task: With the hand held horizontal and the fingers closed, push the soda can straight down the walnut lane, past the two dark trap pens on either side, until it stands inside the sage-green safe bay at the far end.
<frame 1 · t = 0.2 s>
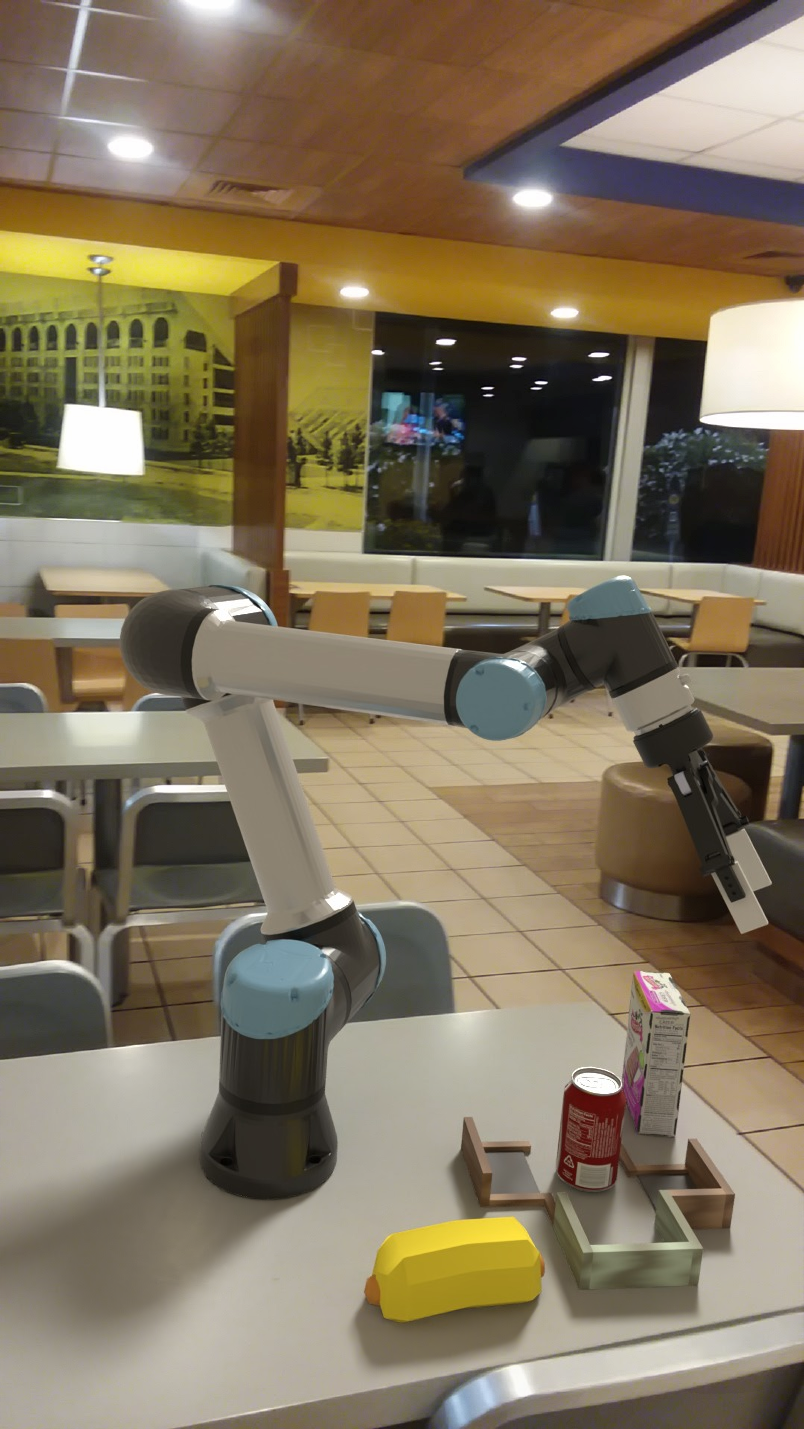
hand: (757, 907, 110), 34 cm above the table, tool tilted 35°, fingers open, 13 cm apart
soda can: (585, 1179, 120), on the table
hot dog: (455, 1296, 101), on the table
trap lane: (605, 1219, 113), on the table
candy bar box: (646, 1113, 134), on the table
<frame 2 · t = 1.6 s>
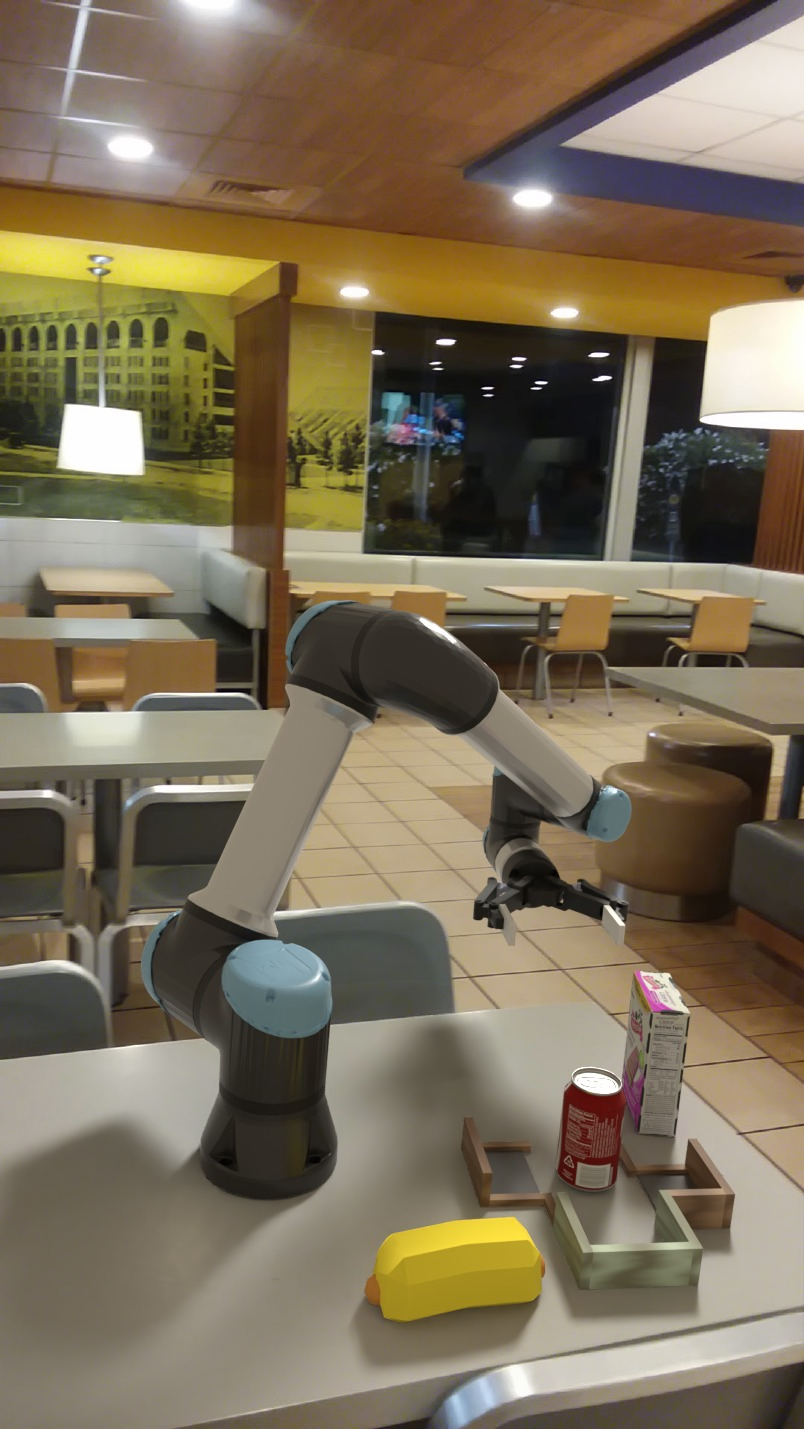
hand: (567, 935, 130), 22 cm above the table, tool horizontal, fingers open, 13 cm apart
nothing on the table moved.
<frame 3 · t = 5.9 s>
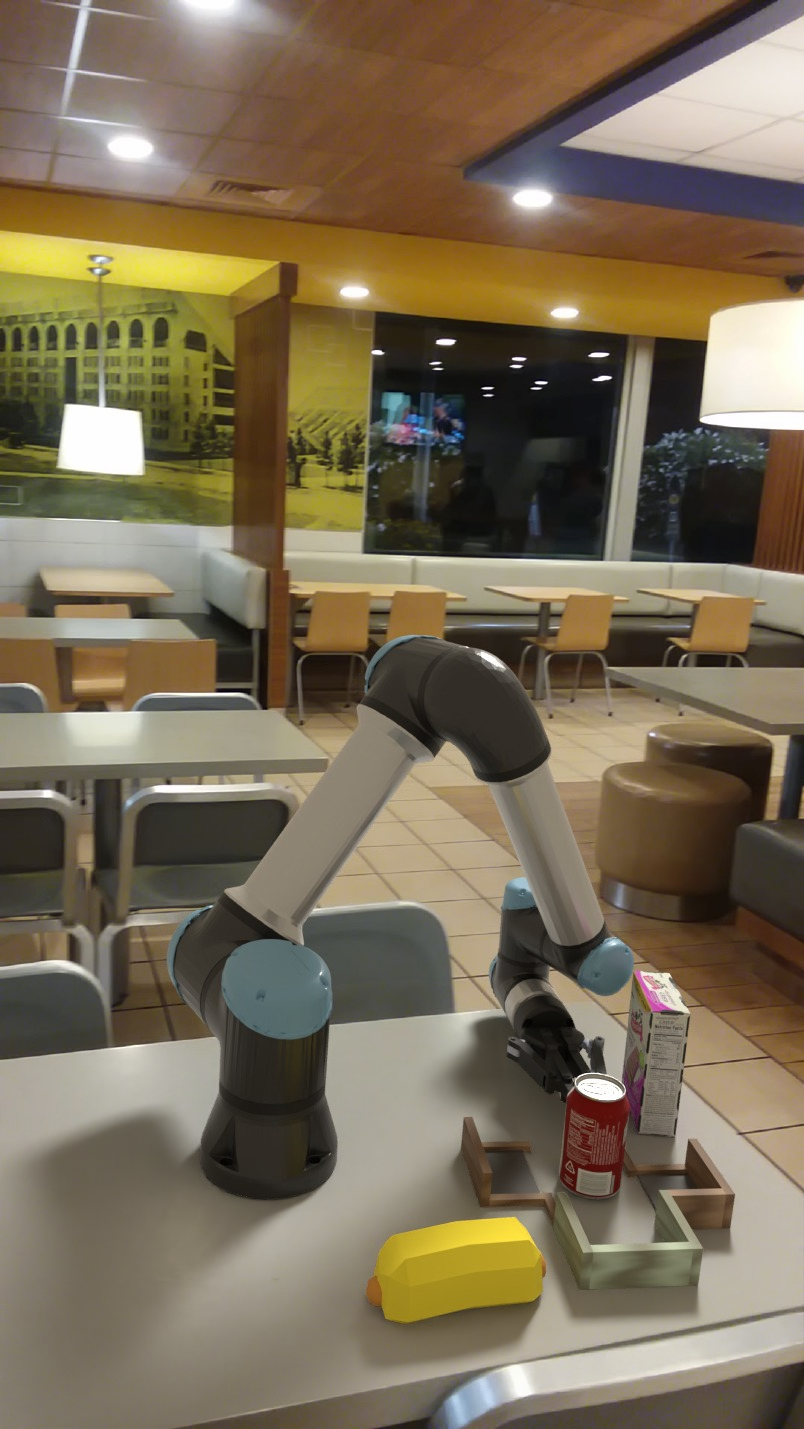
hand: (596, 1119, 121), 6 cm above the table, tool horizontal, fingers closed
soda can: (588, 1186, 119), on the table, touching gripper
everything else where it was.
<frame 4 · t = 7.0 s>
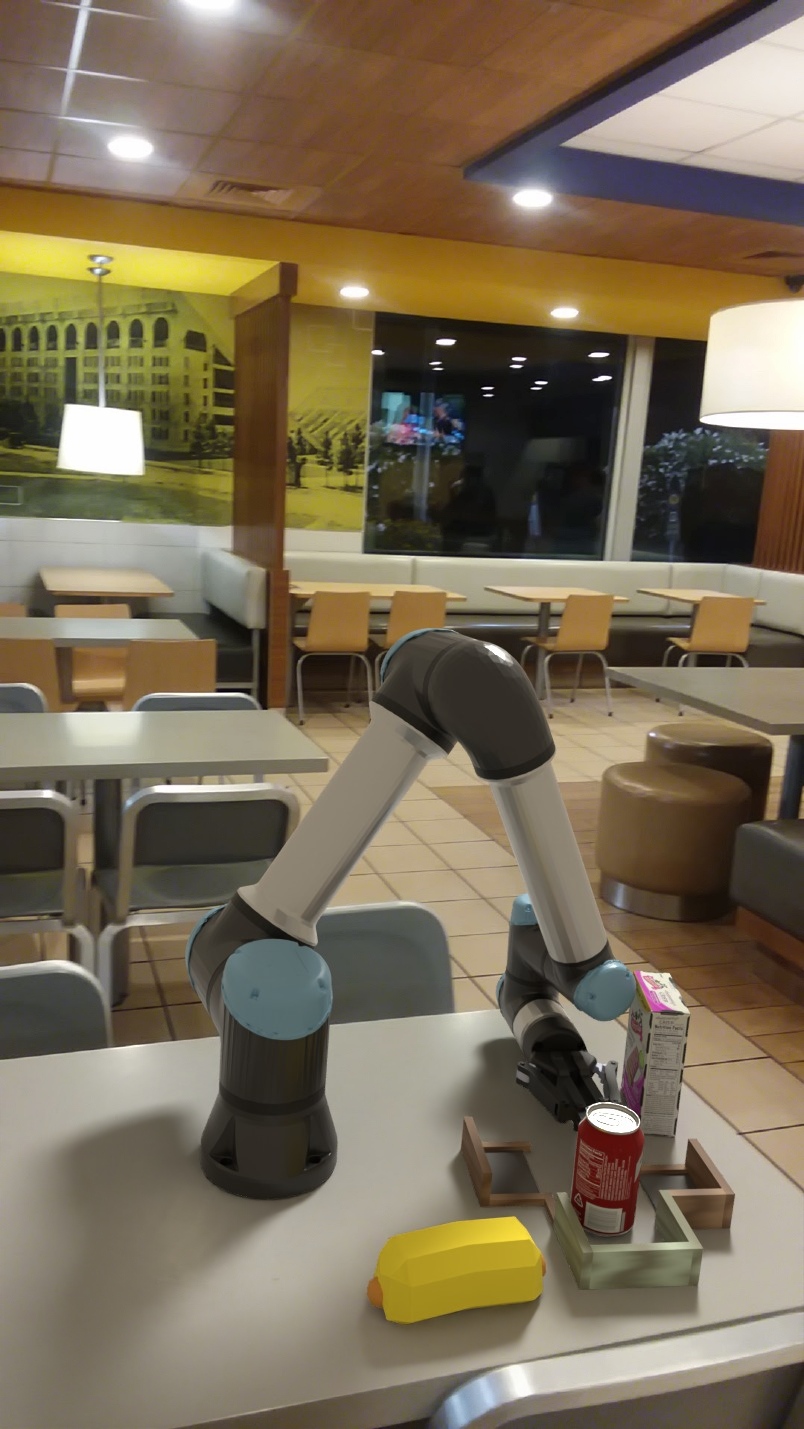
hand: (611, 1151, 115), 6 cm above the table, tool horizontal, fingers closed
soda can: (600, 1222, 113), on the table, touching gripper
everything else where it was.
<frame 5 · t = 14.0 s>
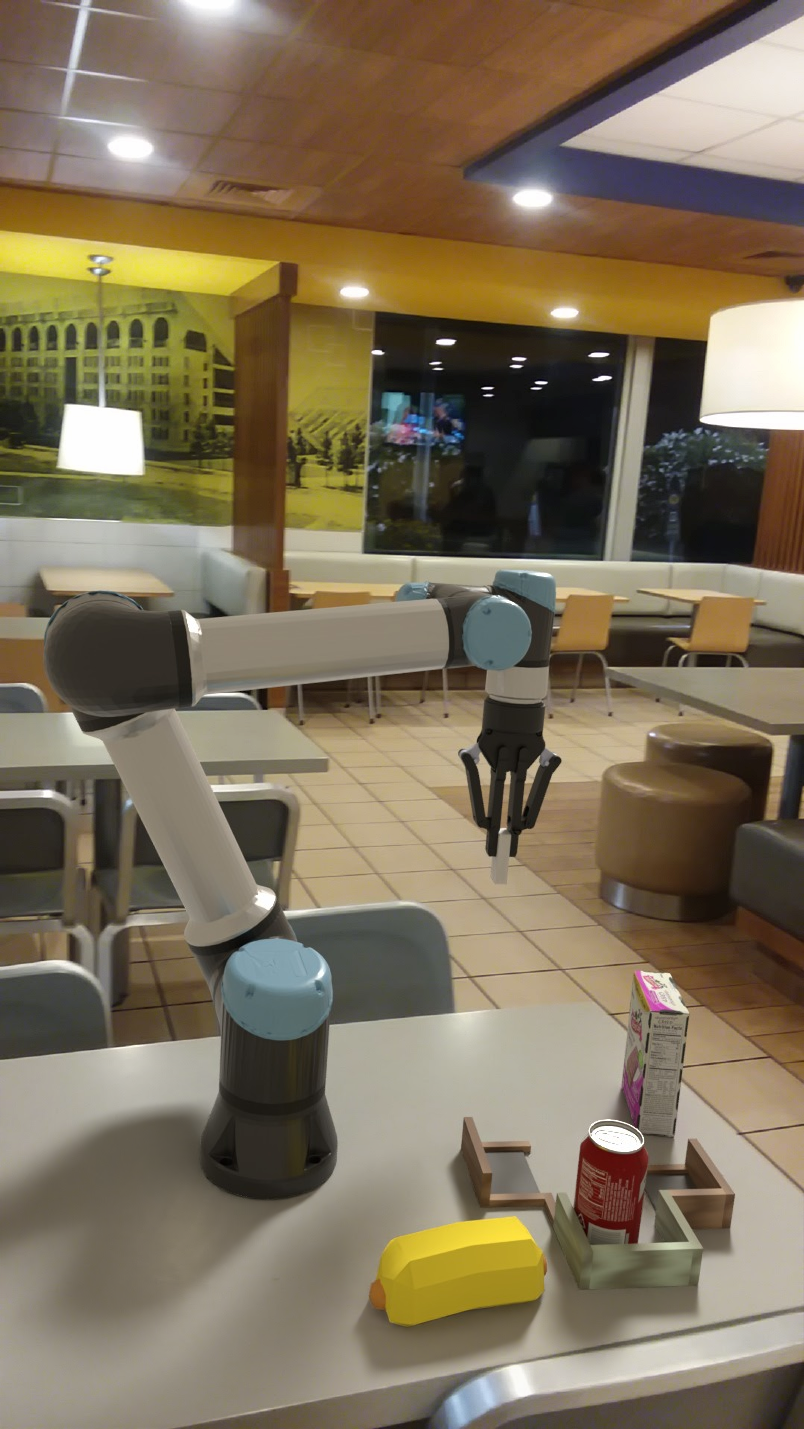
hand: (498, 880, 136), 26 cm above the table, tool pointing down, fingers closed
soda can: (603, 1243, 110), on the table
everything else where it was.
at the end: soda can inside the target area (1.9 cm from its centre), on the table; soda can tilted 0° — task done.
